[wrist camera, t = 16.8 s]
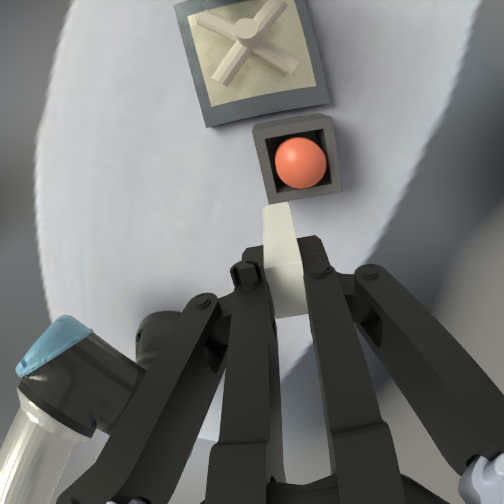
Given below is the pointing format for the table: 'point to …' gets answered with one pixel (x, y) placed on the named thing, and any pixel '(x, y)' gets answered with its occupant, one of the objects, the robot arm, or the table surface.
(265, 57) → the pipe connector
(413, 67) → the table surface
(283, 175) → the press button
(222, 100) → the press frame
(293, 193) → the button housing
